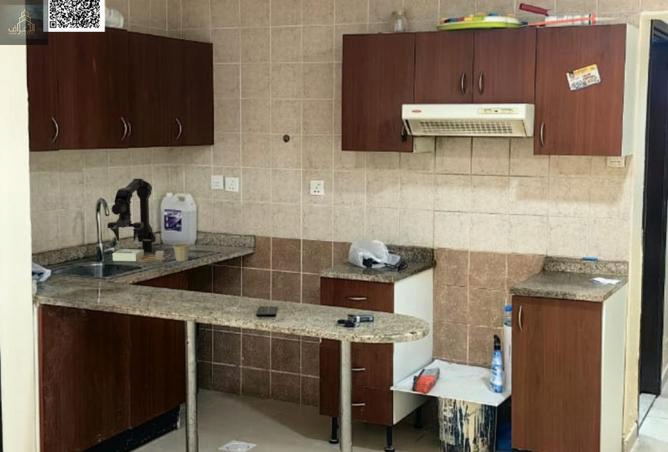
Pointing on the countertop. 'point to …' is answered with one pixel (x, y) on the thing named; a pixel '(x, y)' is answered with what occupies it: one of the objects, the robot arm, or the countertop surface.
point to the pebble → (159, 254)
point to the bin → (128, 255)
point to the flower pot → (181, 251)
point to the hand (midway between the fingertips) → (126, 240)
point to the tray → (153, 258)
